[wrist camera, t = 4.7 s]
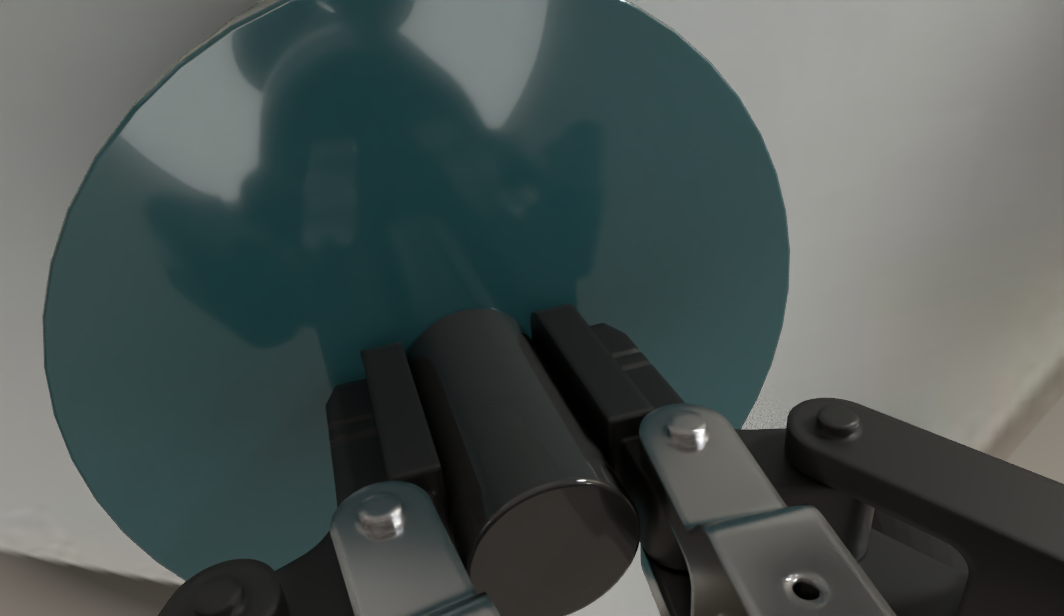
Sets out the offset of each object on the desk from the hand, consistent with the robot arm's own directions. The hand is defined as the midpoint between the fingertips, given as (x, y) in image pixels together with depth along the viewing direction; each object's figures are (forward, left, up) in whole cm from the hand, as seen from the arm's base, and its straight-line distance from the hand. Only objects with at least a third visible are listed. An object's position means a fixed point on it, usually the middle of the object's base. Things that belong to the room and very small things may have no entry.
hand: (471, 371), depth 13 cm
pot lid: (0, 0, -1) cm, 1 cm away
